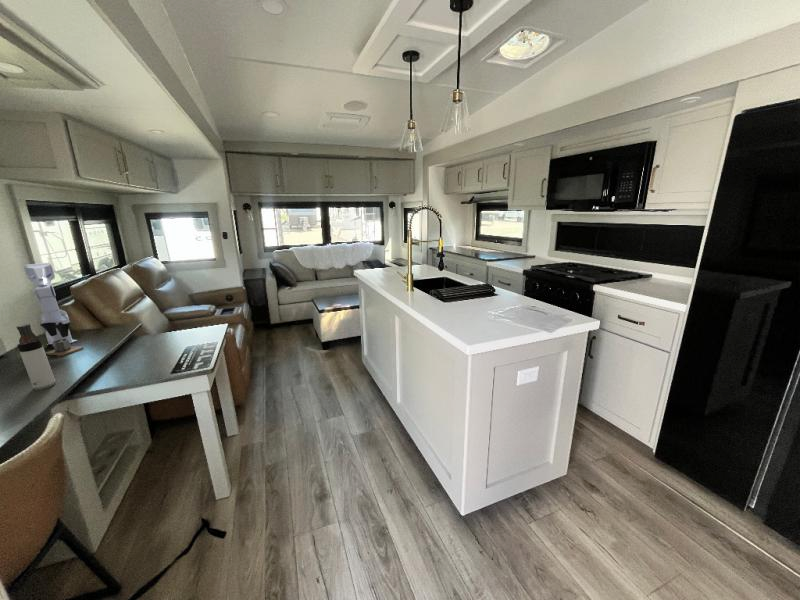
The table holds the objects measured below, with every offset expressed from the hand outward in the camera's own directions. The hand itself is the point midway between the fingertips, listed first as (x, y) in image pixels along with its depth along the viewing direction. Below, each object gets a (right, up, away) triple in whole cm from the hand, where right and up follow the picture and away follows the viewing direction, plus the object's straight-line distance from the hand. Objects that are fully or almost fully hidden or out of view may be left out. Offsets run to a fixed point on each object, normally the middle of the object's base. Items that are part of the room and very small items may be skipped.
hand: (59, 336), depth 161 cm
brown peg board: (0, -8, +2) cm, 8 cm away
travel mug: (+26, -17, -30) cm, 43 cm away
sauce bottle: (+3, -12, -12) cm, 17 cm away
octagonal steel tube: (0, -7, +2) cm, 7 cm away
